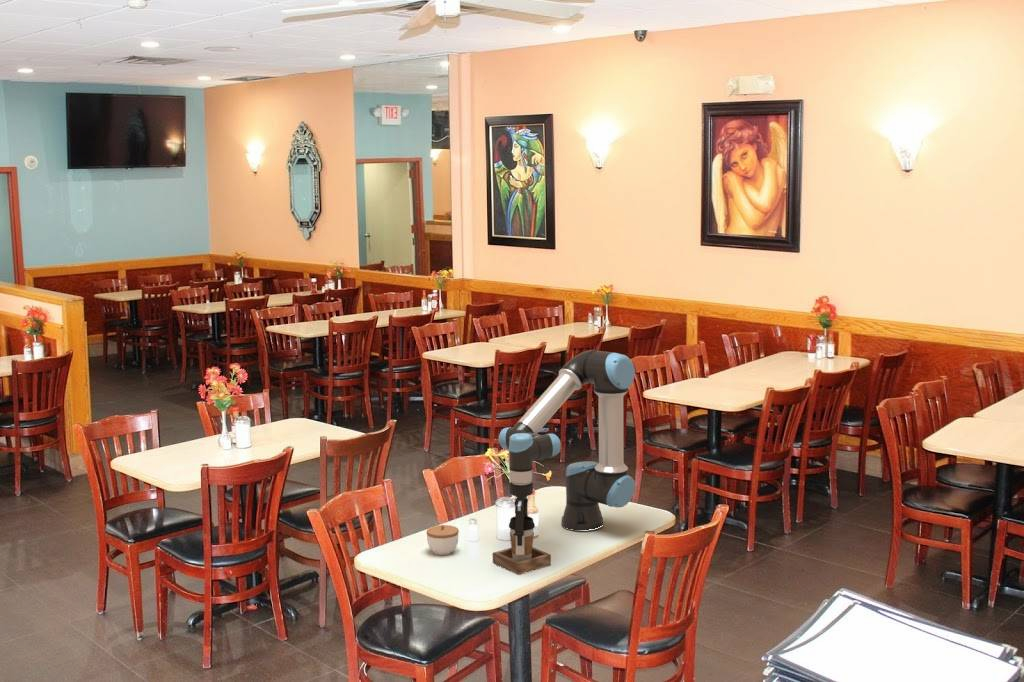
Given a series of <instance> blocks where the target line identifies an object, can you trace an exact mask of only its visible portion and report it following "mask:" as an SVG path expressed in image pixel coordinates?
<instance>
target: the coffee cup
mask: <svg viewBox="0 0 1024 682" xmlns="http://www.w3.org/2000/svg"><path fill="white" fill-rule="evenodd" d="M508 523H509V524H508V528H509V530H510V532H509V537H510V545H511V546H510V548H512V558H513V560H515V561H518V562H521V561H525V560H528V559H531V556H532V547H533V543H534V535H535V532H534V529H535V527H536V526H535V522H534V518H533V517H531V516H529V515H528V516H524V555H516V536H513V533H515V516H512V517H511V518H510V520H509V522H508Z"/></svg>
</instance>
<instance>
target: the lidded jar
mask: <svg viewBox="0 0 1024 682" xmlns="http://www.w3.org/2000/svg"><path fill="white" fill-rule="evenodd" d="M459 532H460V530H459V528H458V527H456V526H454V525H449V524H447V525H446V524H439V525H434V526H431V527H428V528H427V530H426V540H427V545H428V547H429V549H430V550H431V551H432V552H433V553H434V555H437V554H439V555H438V556H447V555H446V554H448V555H450V553H451V552H452V553H453V551H454V550H455V549H457V545H458V542H459ZM452 553H451V554H452Z"/></svg>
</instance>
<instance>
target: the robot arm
mask: <svg viewBox="0 0 1024 682" xmlns="http://www.w3.org/2000/svg"><path fill="white" fill-rule="evenodd" d="M635 376H636V370H635V366H634V363H633V361H632V360H631V359H630V358H629V357H628V356H627V355H625V354H621V353H618V352H611V351H602V350H596V349H589V350H585V351H582V352H581V353H578V354H577V355H575V356H574V357H572V358H571V359H570V360H568V361H567V362H566V363H565V364H564V365H563V366H562V367H561V368H560V369H559V371H558V376H557V377H556V378H555V380H553V382H552V383H551V384H550V385H548V387H547V389H546V390H545V391H544V392H543V393H542V394H541V395H540V396H539V398H538V399H537V400H536V401H535V402H534V403H533V404H532V405H531V406H530V408H528V410H527V411H526V412H525V413H524V414H523V416H521V418H519V420H518V421H517V422H516V423H515V425H513V427H511V426H509V427H504V428H502V429H501V430H500V433H499V435H498V443H499V445H500V447H501V448H502V449H505V450H507V451H508V459H509V460H508V463H509V464H508V465H509V469H508V470H509V471H507V475H509V482H510V483H509V495H511V496H513V497H515V500H514V513H515V516H514V517H515V533H513V536H516V555H524V516H528V517H529V515H528V504H529V499H528V497H529V496H531V495H532V494H533V493H534V483H533V480H534V467H533V465H534V462H536V461H540V460H545V459H551V458H552V457H555V456H557V455H559V454H560V452H561V449H562V446H561V445H562V444H561V440H560V438H559V436H557V435H556V434H555V433H546V434H538V433H540V431H541V430H542V428H544V426H545V425H546V424H547V423H548V422H549V421H550V419H551V418H552V417H553V416H554V415H555V414H556V413H557V411H558V410H559V409H560V408H561V406H563V405H564V403H565V402H566V401H567V400H568V399H569V398H570V396H572V394H573V393H574V392H575V391H579V390H581V388H583V387H584V385H587V384H592V385H593V392H594V393H595V394H596V396H597V397H598V399H597V400H598V461H597V462H596V461H587V460H585V461H578V462H572V463H570V464H569V465H567V467H566V471H565V474H566V475H565V495H566V502H565V507H564V510H563V515H562V517H561V527H562V526H563V528H564V527H565V528H568V529H573V530H589V529H595V528H598V527H600V526H602V525H603V526H604V517H603V515H602V511H601V507H600V505H599V504H602V505H605V506H608V507H611V508H617V509H618V508H623V507H625V506H626V505H628V504H629V503H630V501H631V499H633V497H634V493H635V489H636V482H635V480H634V478H633V477H632V476H630V475H629V467H628V466H627V465H626V464H625V463H624V462H625V461H624V396H625V395H626V394H627V393H628V392H629V391H628V390H629V388H630V387H632V385H633V384H634V382H633V381H634V379H635ZM565 528H564V529H565ZM568 529H567V530H568Z"/></svg>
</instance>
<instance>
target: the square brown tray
mask: <svg viewBox="0 0 1024 682" xmlns="http://www.w3.org/2000/svg"><path fill="white" fill-rule="evenodd" d="M493 563H494V564H493ZM492 564H493V565H495V564H496V566H497V567H500V566H501V568H502V569H504V568H505V569H504V570H507V571H509V572H511V571H512V573H513V572H514V573H513V574H515V573H516V575H517V576H520V575H523V574H526V573H525V572H527V573H529V571H530V572H533V571H536V569H537V570H539V569H542V568H547V567H549V566H551V565H552V554H550V553H548V552H545V551H543V550H540V549H538V548H535V547H533V546H532V556H531V559H528V560H525V561H521V562H518V561H515V560H513V558H512V548H511V547H509V548H504V549H502V550H498V551H495V552H494V551H493V552H492ZM546 566H547V567H546ZM532 570H533V571H532ZM522 573H523V574H522ZM519 574H520V575H519Z"/></svg>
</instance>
